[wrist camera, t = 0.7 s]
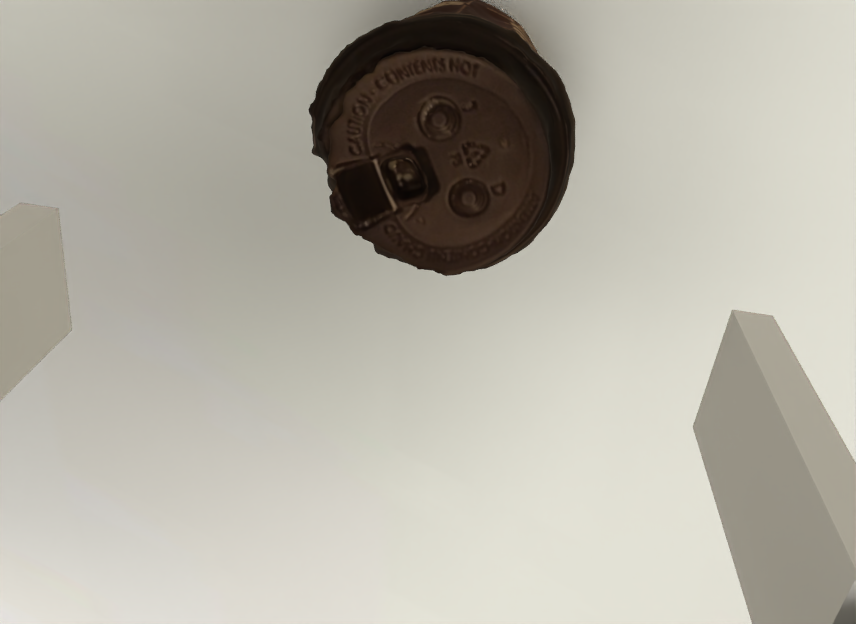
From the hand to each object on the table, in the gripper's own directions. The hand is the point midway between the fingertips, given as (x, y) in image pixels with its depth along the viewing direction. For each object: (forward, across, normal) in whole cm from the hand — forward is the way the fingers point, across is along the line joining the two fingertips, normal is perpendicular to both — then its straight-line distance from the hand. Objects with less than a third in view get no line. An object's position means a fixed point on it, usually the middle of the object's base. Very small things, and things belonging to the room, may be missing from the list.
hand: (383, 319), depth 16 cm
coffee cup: (+23, 0, 0) cm, 23 cm away
